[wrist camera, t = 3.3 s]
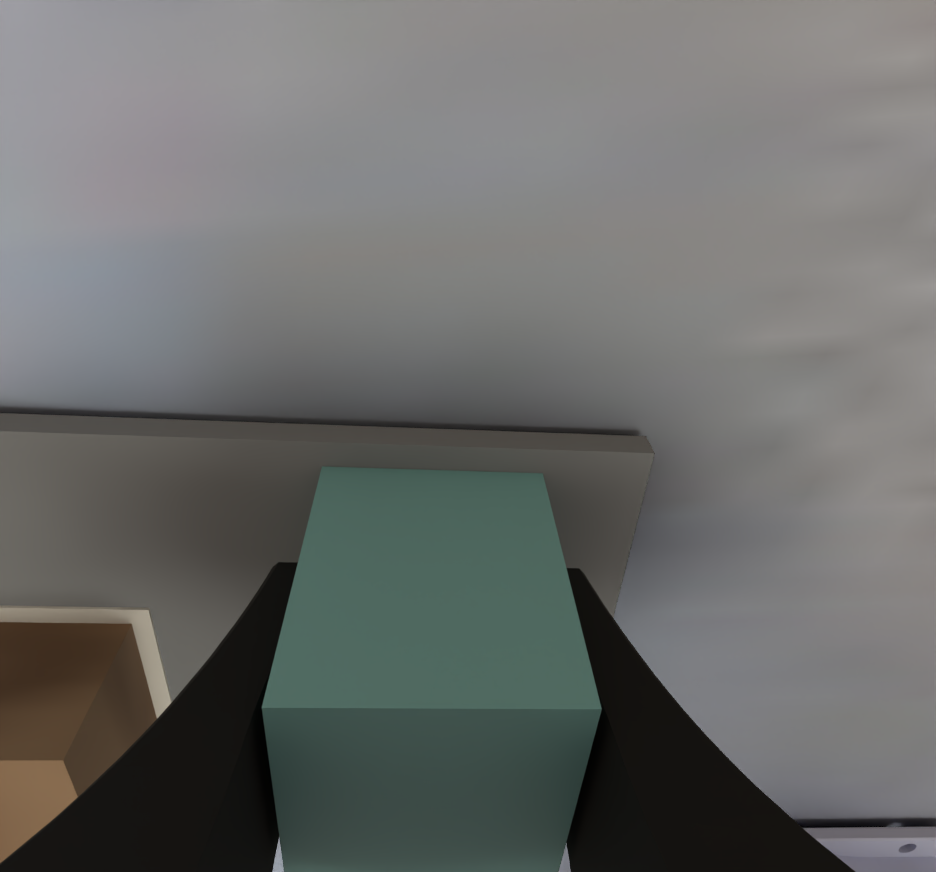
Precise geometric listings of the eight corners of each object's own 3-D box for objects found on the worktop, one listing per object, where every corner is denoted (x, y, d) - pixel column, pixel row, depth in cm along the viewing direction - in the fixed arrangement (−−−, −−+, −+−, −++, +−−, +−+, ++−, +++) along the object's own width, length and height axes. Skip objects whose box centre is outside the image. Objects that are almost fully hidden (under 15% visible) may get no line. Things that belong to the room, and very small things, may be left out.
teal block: (542, 473, 12) (602, 709, 8) (518, 627, 14) (556, 879, 10) (321, 466, 12) (261, 708, 8) (329, 624, 14) (285, 884, 10)
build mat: (645, 436, 13) (655, 455, 12) (563, 778, 18) (567, 803, 18) (-393, 399, 11) (-436, 418, 11) (-137, 781, 17) (-156, 807, 16)
